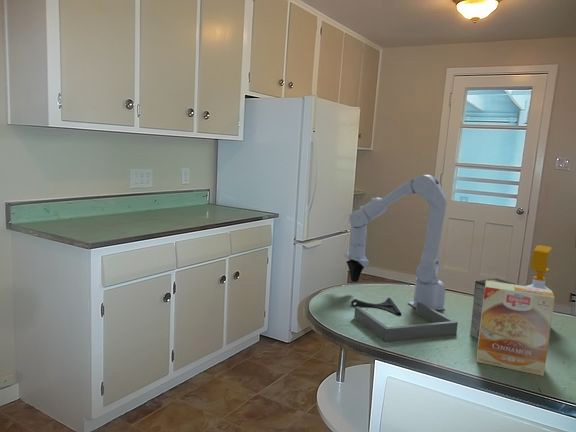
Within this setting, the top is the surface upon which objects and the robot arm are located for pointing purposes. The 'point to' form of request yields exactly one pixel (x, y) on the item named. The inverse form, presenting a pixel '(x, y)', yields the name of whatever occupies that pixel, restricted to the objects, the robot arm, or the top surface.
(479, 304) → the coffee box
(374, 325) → the box
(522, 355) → the coffeecake box
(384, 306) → the bracket
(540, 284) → the soap bottle
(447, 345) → the top surface
